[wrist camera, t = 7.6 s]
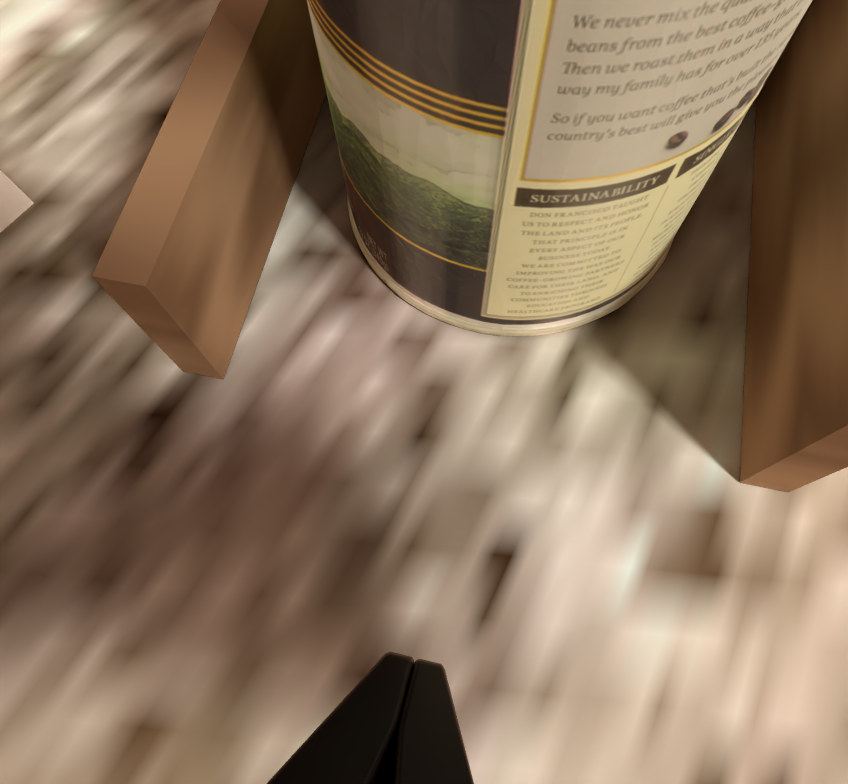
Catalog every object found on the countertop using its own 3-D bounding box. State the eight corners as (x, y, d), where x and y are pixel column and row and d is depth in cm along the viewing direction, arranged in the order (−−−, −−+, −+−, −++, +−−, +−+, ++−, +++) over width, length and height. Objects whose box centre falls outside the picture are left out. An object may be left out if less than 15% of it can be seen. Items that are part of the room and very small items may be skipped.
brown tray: (788, 492, 16) (927, 432, 12) (182, 371, 18) (91, 275, 13) (795, 71, 21) (893, -88, 17) (322, 8, 23) (292, -153, 18)
